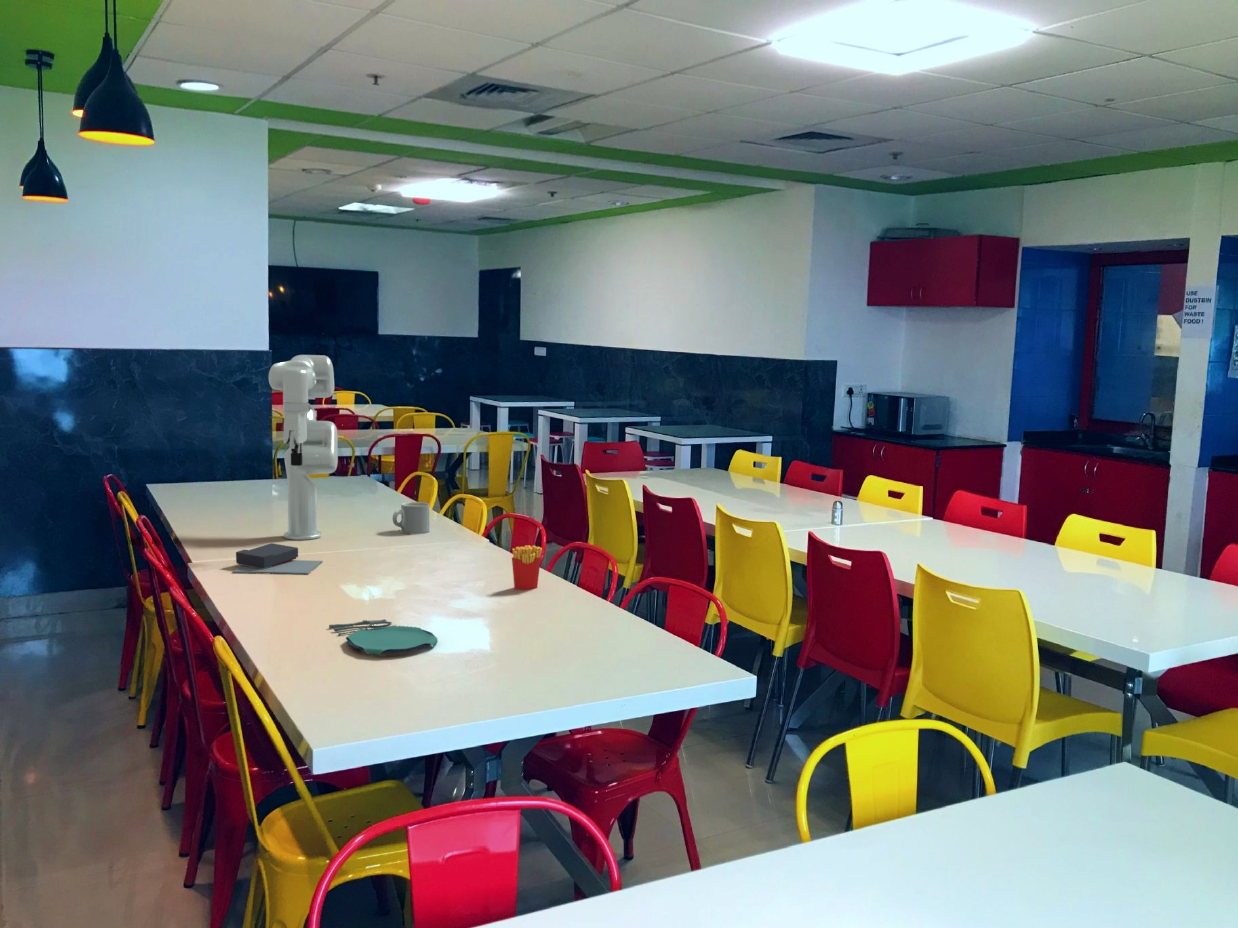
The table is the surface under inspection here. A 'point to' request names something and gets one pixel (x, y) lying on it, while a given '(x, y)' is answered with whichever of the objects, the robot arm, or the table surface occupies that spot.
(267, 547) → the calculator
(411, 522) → the coffee mug
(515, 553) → the french fries
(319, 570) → the table surface
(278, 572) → the mat
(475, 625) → the table surface
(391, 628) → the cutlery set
